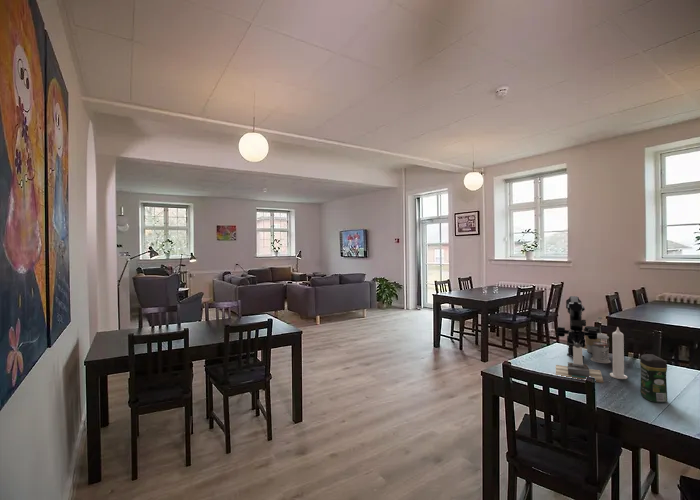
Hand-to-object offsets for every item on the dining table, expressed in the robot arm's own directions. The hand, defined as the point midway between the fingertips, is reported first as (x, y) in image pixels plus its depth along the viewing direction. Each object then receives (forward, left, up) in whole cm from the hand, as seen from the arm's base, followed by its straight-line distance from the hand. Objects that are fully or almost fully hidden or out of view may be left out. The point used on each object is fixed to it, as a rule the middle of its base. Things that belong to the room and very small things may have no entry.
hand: (577, 346), depth 194 cm
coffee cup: (-29, -25, -12) cm, 40 cm away
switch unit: (+5, +7, -12) cm, 15 cm away
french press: (-23, -11, -12) cm, 28 cm away
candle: (-12, +13, -12) cm, 22 cm away
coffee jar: (-6, +38, -12) cm, 41 cm away
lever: (+5, +7, -7) cm, 12 cm away
